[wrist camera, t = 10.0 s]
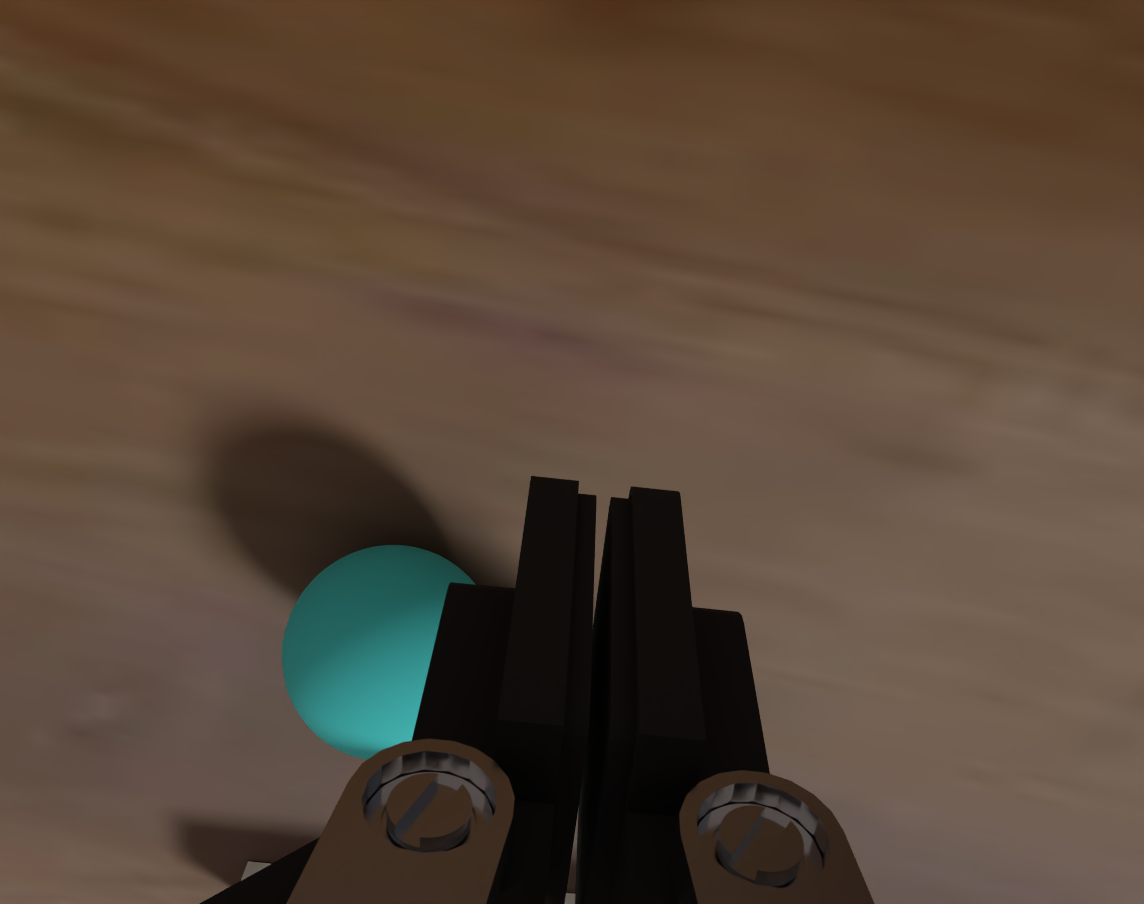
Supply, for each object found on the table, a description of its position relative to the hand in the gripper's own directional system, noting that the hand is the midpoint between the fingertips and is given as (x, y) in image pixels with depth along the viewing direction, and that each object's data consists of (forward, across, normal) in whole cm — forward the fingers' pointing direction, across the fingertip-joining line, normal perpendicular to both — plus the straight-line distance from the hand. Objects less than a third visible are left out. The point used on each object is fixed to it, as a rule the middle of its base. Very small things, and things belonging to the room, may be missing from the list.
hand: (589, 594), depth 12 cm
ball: (+14, +4, +13) cm, 19 cm away
